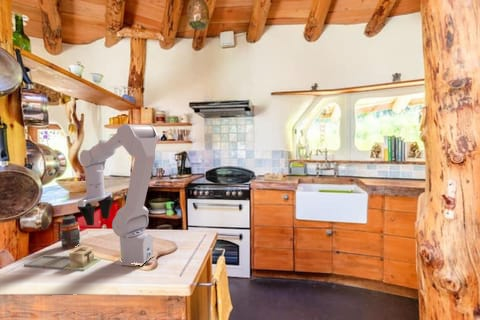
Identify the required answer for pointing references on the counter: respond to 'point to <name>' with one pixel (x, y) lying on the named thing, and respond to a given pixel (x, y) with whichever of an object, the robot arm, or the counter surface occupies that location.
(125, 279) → the counter surface
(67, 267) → the green dish
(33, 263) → the far dish
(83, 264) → the letter block
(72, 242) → the supplement bottle
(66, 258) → the middle dish
